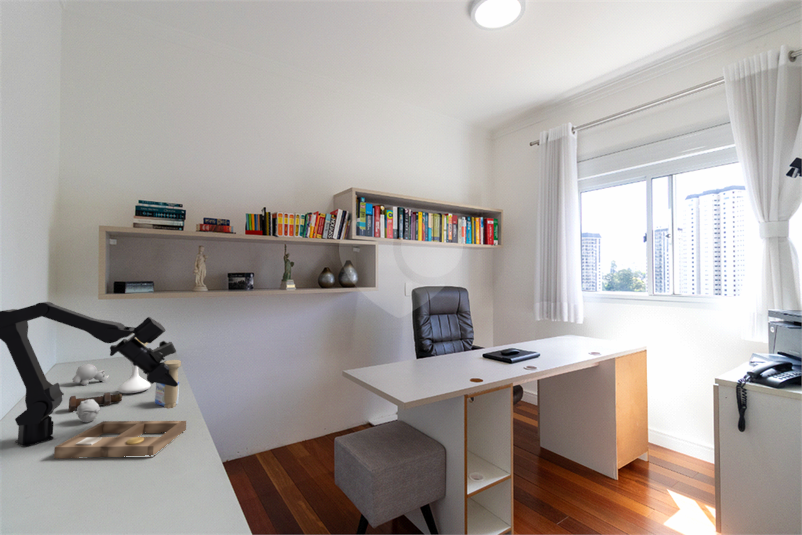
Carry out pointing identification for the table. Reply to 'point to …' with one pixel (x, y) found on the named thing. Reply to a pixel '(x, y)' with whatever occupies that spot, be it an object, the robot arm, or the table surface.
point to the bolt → (104, 400)
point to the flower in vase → (134, 381)
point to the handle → (171, 391)
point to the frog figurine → (88, 410)
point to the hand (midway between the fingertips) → (176, 383)
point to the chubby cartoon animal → (88, 374)
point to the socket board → (120, 439)
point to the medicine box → (162, 394)
